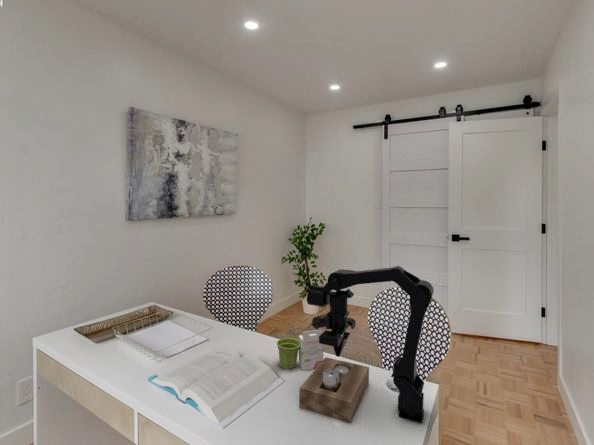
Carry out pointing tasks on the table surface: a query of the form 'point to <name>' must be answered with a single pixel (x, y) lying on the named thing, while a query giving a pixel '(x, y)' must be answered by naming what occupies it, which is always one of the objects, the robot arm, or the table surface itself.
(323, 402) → the walnut block
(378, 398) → the table surface
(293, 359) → the plant pot
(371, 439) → the table surface
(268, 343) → the table surface
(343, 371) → the peg far
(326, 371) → the peg near
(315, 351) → the ink cartridge box
